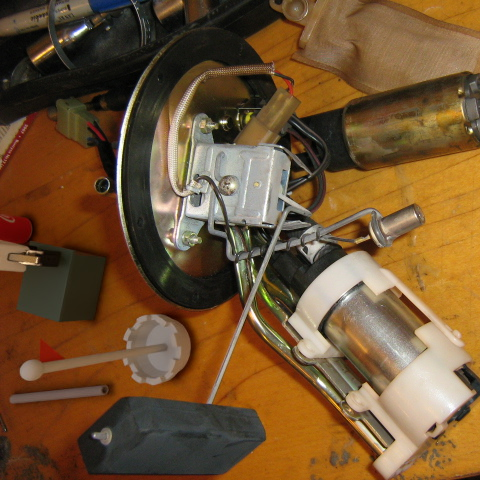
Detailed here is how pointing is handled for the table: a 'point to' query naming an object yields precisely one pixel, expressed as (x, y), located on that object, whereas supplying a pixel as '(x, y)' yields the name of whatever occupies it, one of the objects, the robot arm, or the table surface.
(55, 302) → the box lid
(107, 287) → the table surface
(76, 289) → the dark green open box
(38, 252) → the robot arm
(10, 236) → the beverage can
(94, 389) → the metal rod
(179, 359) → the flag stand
